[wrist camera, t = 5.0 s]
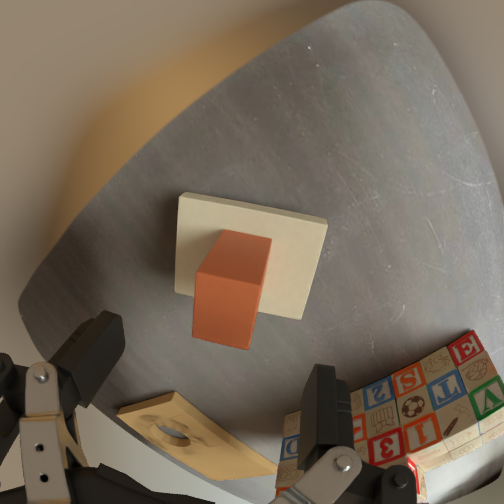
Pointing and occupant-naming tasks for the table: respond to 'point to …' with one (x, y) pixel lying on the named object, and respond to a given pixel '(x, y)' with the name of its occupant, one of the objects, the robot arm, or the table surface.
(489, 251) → the table surface
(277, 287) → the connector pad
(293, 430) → the stack of blocks
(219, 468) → the base pad
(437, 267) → the table surface
